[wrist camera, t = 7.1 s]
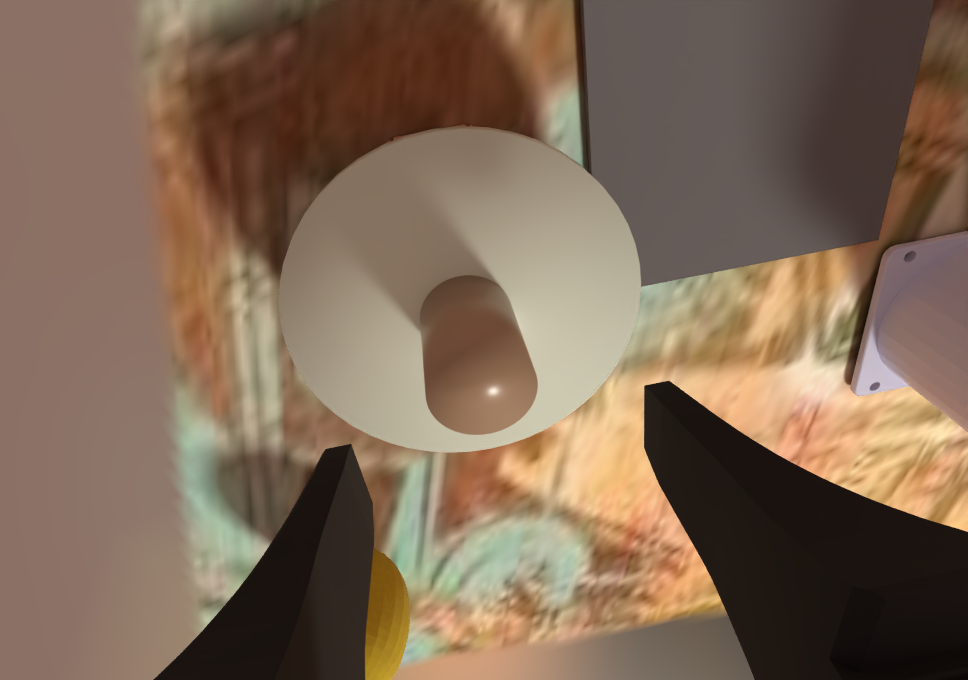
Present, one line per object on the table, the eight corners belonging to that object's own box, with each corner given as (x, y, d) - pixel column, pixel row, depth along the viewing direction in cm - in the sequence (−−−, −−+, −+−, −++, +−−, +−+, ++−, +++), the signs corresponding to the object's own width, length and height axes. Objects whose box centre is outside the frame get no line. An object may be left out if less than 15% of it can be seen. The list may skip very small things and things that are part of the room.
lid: (636, 94, 16) (710, 130, 12) (633, 410, 23) (682, 499, 19) (224, 163, 16) (170, 223, 12) (338, 466, 22) (325, 570, 18)
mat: (953, -121, 18) (963, -123, 18) (871, 236, 25) (878, 240, 24) (577, -54, 18) (580, -54, 17) (594, 290, 24) (597, 295, 24)
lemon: (284, 525, 29) (250, 690, 22) (392, 500, 29) (391, 657, 22) (321, 590, 32) (301, 753, 25) (419, 567, 32) (425, 724, 25)
